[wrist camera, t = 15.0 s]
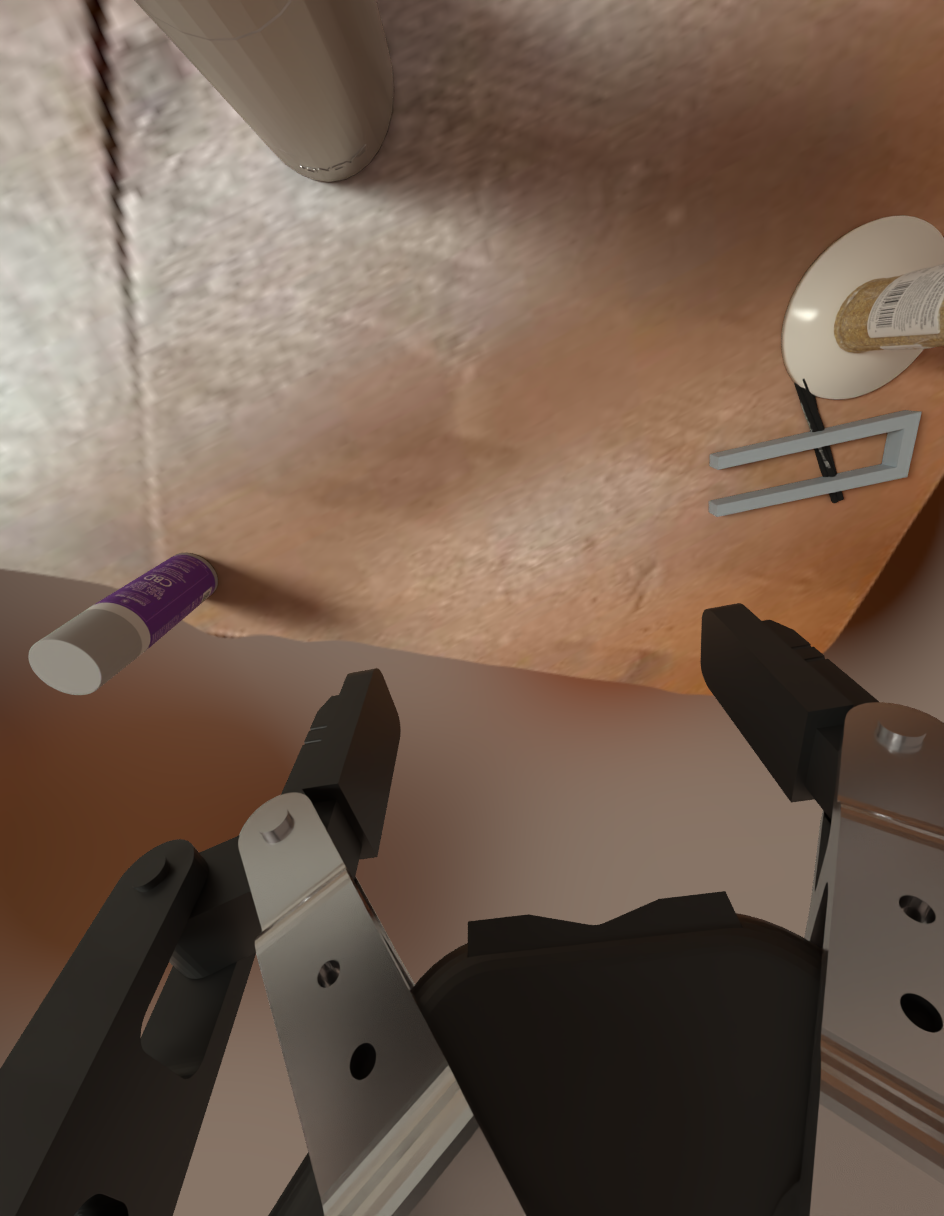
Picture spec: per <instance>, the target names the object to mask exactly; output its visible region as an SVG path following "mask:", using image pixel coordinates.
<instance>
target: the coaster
mask: <svg viewBox="0 0 944 1216" xmlns="http://www.w3.org/2000/svg"><path fill="white" fill-rule="evenodd" d="M942 264H944V237H943V236H942V234H941V233H940V232H939V231H938V230H937V229H936V228H935V227H934V226H933V225H931V224H930V223H928V222H926V221H925V220H922V219H919V218H916V217H911V216H891V217H885V218H881V219H878V220H875V221H872V222H869V223H867V224H864V225H862V226H860V227H858V228H855V229H853V230H851V231H850V232H848V233H847V234H845V235H843V236H842V237H840V238H839V239H838V240H836V241H835V242H834V243H833V244H831V245H830V246H829V247H828V248H827V249H826V250H825V251H824V252H823V253H822V254H821V255H820V256H819V257H818V258H817V259H816V260H815V261H814V263H813V264H812V265H811V266H810V267H809V269H808V270H807V272H806V273H805V274H804V276H803V277H802V279H801V280H800V282H799V284H798V286H797V287H796V289H795V291H794V293H793V295H792V297H791V300H790V302H789V305H788V308H787V310H786V313H785V317H784V321H783V326H782V334H781V350H782V358H783V361H784V365H785V368H786V370H787V372H788V374H789V376H790V377H791V379H792V381H793V382H794V383H796V384H798V385H799V386H800V387H801V388H802V387H803V388H805V386H804V383H803V380H802V379H805V381H806V383H807V386H808V388H809V391H810V392H811V394H813V395H815V396H816V397H819V398H826V399H848V398H854V397H857V396H861V395H864V394H867V393H869V392H871V391H874V390H876V389H878V388H880V387H881V386H883V385H885V384H886V383H888V382H889V381H891V380H892V379H894V378H895V377H896V376H898V375H899V374H900V373H901V372H903V371H904V370H905V369H906V368H907V367H908V366H909V365H910V364H911V363H912V362H913V361H914V360H915V359H916V358H917V357H918V356H919V354H920V353H921V352H922V351H923V350H924V349H911V350H873V351H867V352H864V353H852V352H847V351H845V350H843V349H841V348H840V347H839V345H838V344H837V342H836V339H835V336H834V324H835V320H836V316H837V313H838V311H839V310H840V307H841V306H842V304H843V302H844V301H845V300H846V298H847V297H848V296H849V295H850V294H851V293H852V292H853V291H854V290H855V289H856V288H858V287H859V286H861V285H863V284H864V283H866V282H869V281H871V280H873V279H878V278H890V277H895V276H900V275H903V274H906V273H909V272H912V271H916V270H920V269H925V268H929V267H933V266H938V265H942ZM805 389H806V388H805Z"/></svg>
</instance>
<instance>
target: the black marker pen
mask: <svg viewBox="0 0 944 1216" xmlns="http://www.w3.org/2000/svg"><path fill="white" fill-rule="evenodd" d="M802 380H803V383H804V386H805V388H806V389H805V388H803V387H802V388H801V387H800V386H799V385H798V384H796V383H794V384H795V387H796V390H797V393H798V396H799V399H800V403H801V406H802V408H803V411H804V414H805V417H806V419H807V422H808V424H809V428H810V431H811V432H817V431H823V430H824V426H823V423H822V421H821V418H820V415H819V412H818V408H817V403H816V399H815V395H813V394H811V392H810V391H809V388H808V386H807V383H806V381H805V379H802ZM814 450H815V453H816V457H817V460H818V464H819V467H820V470H821V473H822V476H823V477H835V476H836V475H837V473H836V469H835V465H834V461H833V457H832V453H831V449H830V445H828V446H823V447H819V448H814ZM829 495H830V498H831V501H832V503H837V502H838V501H841V500H843V499H844V497H843V494H842V491H838V492H833V493H829Z"/></svg>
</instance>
